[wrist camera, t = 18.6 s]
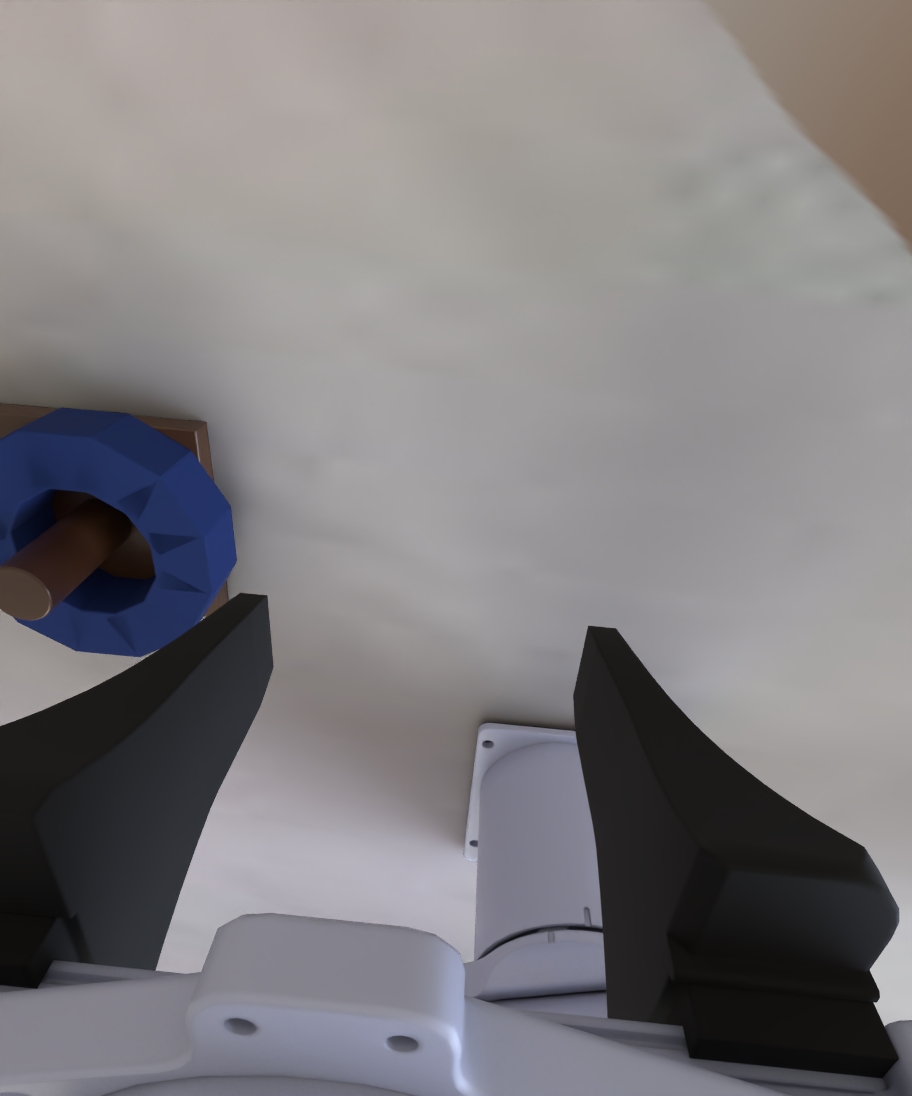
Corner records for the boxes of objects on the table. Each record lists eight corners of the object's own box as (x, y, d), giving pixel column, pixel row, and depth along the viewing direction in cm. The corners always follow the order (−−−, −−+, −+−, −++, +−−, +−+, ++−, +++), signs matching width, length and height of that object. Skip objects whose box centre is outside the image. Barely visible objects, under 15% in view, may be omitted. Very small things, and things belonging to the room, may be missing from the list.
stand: (229, 604, 27) (164, 704, 22) (42, 586, 27) (-67, 681, 22) (207, 421, 23) (122, 489, 18) (-12, 401, 23) (-159, 463, 18)
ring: (245, 628, 26) (223, 666, 24) (33, 608, 27) (-7, 644, 25) (222, 421, 22) (193, 445, 20) (-31, 398, 22) (-86, 420, 20)
